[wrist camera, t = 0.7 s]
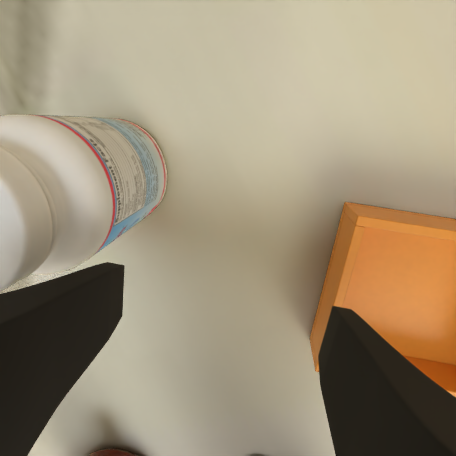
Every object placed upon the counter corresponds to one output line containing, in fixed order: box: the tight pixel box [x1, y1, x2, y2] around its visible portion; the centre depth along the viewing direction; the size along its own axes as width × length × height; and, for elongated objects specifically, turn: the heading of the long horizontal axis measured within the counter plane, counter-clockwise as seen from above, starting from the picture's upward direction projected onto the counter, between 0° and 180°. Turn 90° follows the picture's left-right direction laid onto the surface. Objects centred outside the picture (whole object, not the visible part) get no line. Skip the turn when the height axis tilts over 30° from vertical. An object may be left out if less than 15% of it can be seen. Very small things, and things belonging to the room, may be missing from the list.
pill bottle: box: [0, 115, 167, 291], centre depth 14 cm, size 6×6×11 cm
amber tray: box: [310, 202, 456, 397], centre depth 18 cm, size 10×10×3 cm
